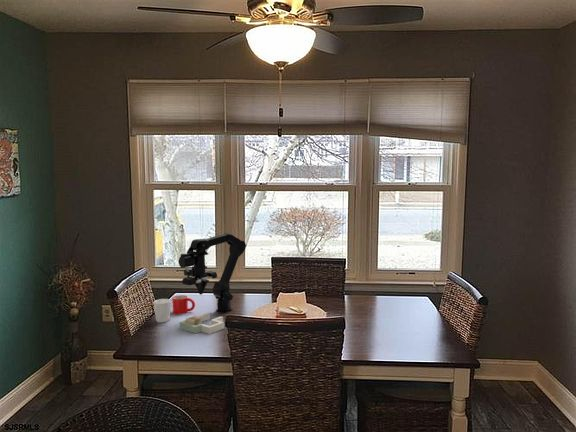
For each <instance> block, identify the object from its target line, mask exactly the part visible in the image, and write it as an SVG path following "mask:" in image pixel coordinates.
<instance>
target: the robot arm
mask: <svg viewBox="0 0 576 432" xmlns="http://www.w3.org/2000/svg"><path fill="white" fill-rule="evenodd" d="M224 243H226V244H228V245H229V248H228V249H229V255H228V258H227V261H226V264H225V266H224V269H223V271H222V274H221V276H220V279H219V280H218V281H215V282H214V285H213V287H212V294H213V296H214V298H215V299H216V300H217V304H216V306H217V307H216V308H217V309H215V310H216V312H219V313H223V314H224V313H228V312H232V311H233V308H231V307H232V306H231V305H232V304H231V301H232V300H233V298H234V296H233V294H231V293H230V289H231V287H230V281H231V279H232V276H233V273H234V270H235V267H236V265H237V262H238V259H239V257H241V256H242V255H243V253H244V252H245V250H246V248H247V244H246V242H245V241H244V240H241V239H240V238H238V237H236V236H235V235H233V234H232V233H227V232H224V233H222V234H220V235H216V236H215V235H214V236H211V237H209V238H197V239H193V240H192V241H191V243H190V245H189V247H188V250H187V251H186V253H181V254H180V256H179V259H178V265H179V267H180V268H181V269H184V270H183V275H184V276H185V277H183V279H182V280H181V281H182V285H186V286H192V285H194V286H195V287H196V289H197V291H198V294H199V295H200V296H202V295H203V293H204V291H205V289H206V286H207V285H208V283H209V282H210V280H209V279H208V278H210V277H211V278H212V279H217V278H218V274H217V272H216V271H212V270H209V271H208V270H207V271H206V269H208V265H206V259H205V258H206V256H208V255H209V252H207V250H209V248H211V247H213V246H217V245H221V244H224ZM188 267H189V268H191V269H189V268H188ZM186 268H187V269H186Z"/></svg>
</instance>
